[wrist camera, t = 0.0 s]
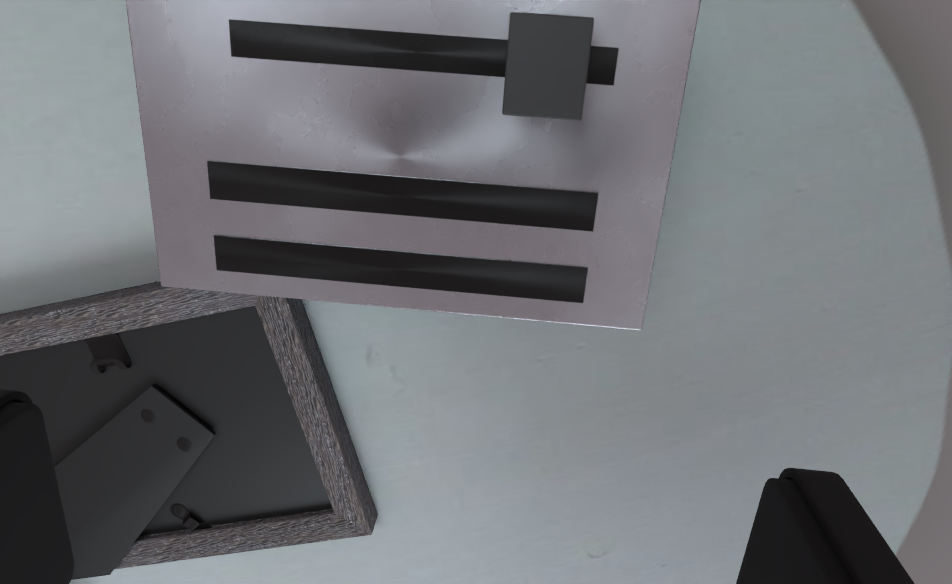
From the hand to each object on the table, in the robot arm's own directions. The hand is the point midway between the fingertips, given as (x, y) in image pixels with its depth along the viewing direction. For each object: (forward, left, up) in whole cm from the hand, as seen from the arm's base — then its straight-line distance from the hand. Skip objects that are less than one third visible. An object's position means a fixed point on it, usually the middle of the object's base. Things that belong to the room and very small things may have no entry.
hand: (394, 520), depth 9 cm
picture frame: (+16, -17, -23) cm, 33 cm away
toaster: (-2, -2, -23) cm, 23 cm away
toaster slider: (-5, +2, -13) cm, 14 cm away
